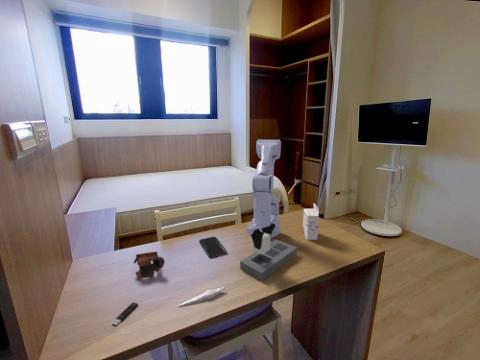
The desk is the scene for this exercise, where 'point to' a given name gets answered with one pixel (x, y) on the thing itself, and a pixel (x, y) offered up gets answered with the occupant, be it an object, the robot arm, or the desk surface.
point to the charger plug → (263, 244)
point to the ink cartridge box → (311, 223)
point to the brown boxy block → (148, 264)
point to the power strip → (268, 260)
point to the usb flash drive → (125, 313)
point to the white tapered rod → (204, 296)
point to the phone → (212, 247)
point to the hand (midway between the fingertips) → (261, 245)
